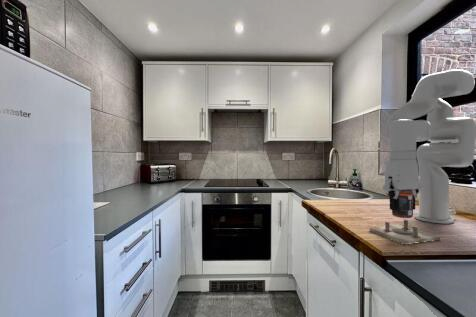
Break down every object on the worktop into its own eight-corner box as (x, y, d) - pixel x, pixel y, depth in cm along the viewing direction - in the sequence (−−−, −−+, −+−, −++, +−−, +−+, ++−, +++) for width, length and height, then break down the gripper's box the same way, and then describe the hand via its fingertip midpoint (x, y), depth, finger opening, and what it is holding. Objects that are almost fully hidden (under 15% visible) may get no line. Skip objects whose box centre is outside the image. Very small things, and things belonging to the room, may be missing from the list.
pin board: (400, 227, 91) (400, 216, 91) (439, 240, 77) (439, 227, 77) (369, 230, 87) (369, 219, 87) (404, 245, 74) (404, 231, 74)
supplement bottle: (416, 219, 78) (416, 184, 78) (396, 218, 80) (396, 184, 79) (407, 214, 84) (407, 182, 84) (389, 213, 85) (389, 182, 85)
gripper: (412, 156, 87) (412, 205, 88) (372, 156, 83) (372, 208, 84) (433, 156, 80) (433, 210, 80) (391, 157, 76) (390, 213, 76)
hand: (402, 208), depth 82 cm, fingers closed on supplement bottle, 5 cm apart
